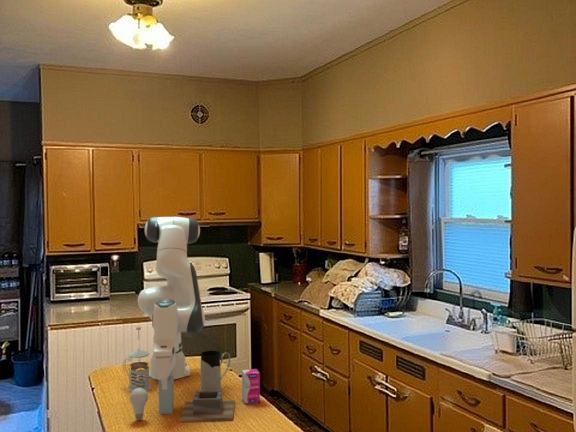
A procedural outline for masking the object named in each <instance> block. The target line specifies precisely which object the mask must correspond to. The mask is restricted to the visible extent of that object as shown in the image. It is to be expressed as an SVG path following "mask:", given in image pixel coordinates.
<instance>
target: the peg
mask: <svg viewBox="0 0 576 432" xmlns="http://www.w3.org/2000/svg"><path fill="white" fill-rule="evenodd" d="M167 381H168V388H167V389H166V390H163V389H162V383H161V379H159V380H158V414H159V415H163V414H165V415H167V414H168V415H170V414H173V411H174V409H175V407H174V406H175V405H174V404H175V403H174V379H173V376H169V377H168V380H167Z"/></svg>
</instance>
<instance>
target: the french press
mask: <svg viewBox="0 0 576 432" xmlns="http://www.w3.org/2000/svg"><path fill="white" fill-rule="evenodd" d="M135 329H136V331H138V335H137V336H138V337H137V338H138V339H140V330H142V327H141V326H140V325H139V326H136V328H135ZM148 356H150V353H149V352H148V351H146V350H144V349H138V350H134V351H132V352H129V354H128V357H126V358H125V359H124V360H123V362H122V365H125V364H126V363H127V361H128V362H131V361H132V358H133V359H134V358H135V359H137V358H138V359H141V358H147V357H148ZM129 367H130V368H128V370H127V369H126V366H124V367H122V369H123V371H122V372H123V373H124V374H125V375H126V376H128V381H129V382H128V383H129V386H128V387H127V388H126V390H127V391H128V392H130V393H131V392H132V391H133V390H134V389H136V388H143V389H145V390H146V392H147V391H149V390H151V389H152V388H153V387H152V385H151V384H150V377H149V372H150V366H149V363H148V362H146V361H145V362H144V361H136V362H133V363H130V365H129Z"/></svg>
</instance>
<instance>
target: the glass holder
mask: <svg viewBox="0 0 576 432" xmlns="http://www.w3.org/2000/svg"><path fill="white" fill-rule="evenodd" d="M225 354H227V355H228V362H227V363H228V364H227V366H226V370H225V371H224V372H223V374H222V373H221V372H222V371H221V369H222V367H221V365H222V364H223V358H224V356H225ZM230 364H231V354H230V353H228V352H223V353H222V355H221V352H220V351H218V350H205V351H202V352H200V390H199V391H222V392H223V389H222V385H221V384H222V379H223V378H224V376H225V375H226V373H227V372H228V370H229V368H230Z"/></svg>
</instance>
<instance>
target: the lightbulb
mask: <svg viewBox="0 0 576 432" xmlns="http://www.w3.org/2000/svg"><path fill="white" fill-rule="evenodd" d="M148 398H149V394H148V392H147V391H146V390H145V389H143V388H136V389H134V390H133V391H132V392H130V394H129V402H130V403H131V405H132V407H133V412H134V415H135V420H137V421H141V420H143V419H144V412H145V406H146V404H147V402H148V401H149V400H148Z"/></svg>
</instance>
